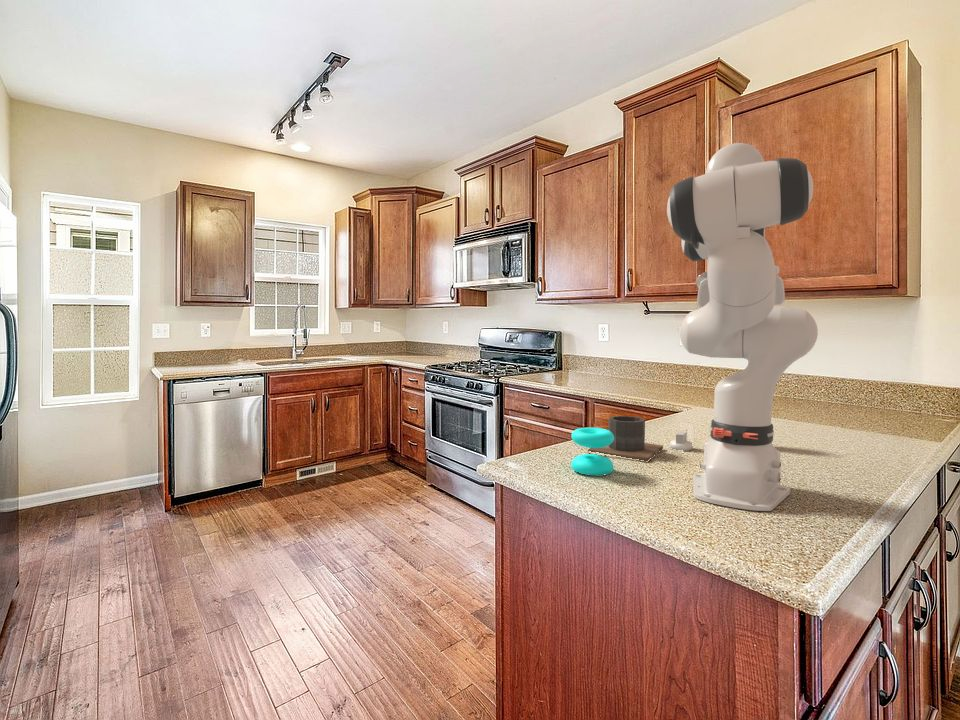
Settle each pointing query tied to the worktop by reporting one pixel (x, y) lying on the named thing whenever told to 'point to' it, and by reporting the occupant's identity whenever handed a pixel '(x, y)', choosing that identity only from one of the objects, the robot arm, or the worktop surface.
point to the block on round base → (681, 442)
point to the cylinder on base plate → (629, 439)
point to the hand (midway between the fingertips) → (739, 323)
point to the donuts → (592, 462)
